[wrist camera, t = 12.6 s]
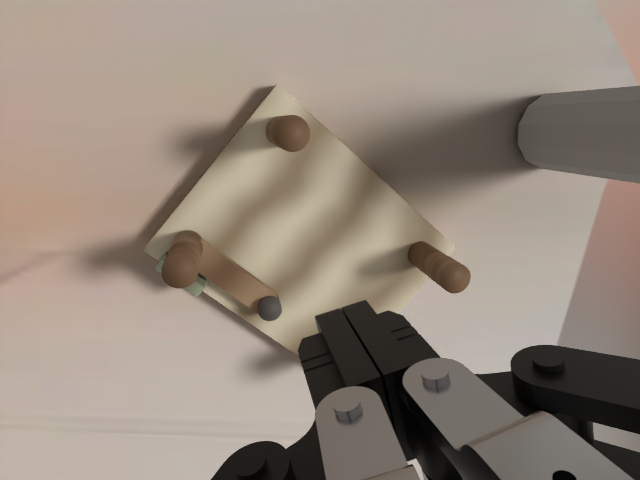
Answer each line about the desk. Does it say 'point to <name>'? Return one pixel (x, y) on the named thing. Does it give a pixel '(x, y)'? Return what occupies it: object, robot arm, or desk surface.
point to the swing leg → (217, 274)
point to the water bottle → (585, 133)
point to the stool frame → (307, 224)
